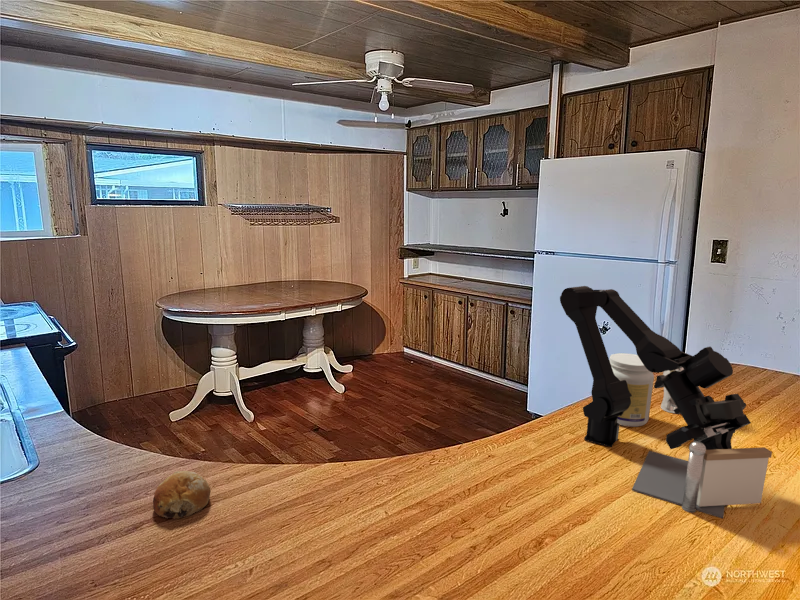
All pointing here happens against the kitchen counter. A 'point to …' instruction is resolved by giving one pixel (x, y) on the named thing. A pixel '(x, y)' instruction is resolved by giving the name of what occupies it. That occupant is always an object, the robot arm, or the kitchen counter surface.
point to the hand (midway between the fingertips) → (733, 471)
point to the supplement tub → (634, 387)
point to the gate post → (693, 476)
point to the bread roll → (181, 495)
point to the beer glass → (668, 396)
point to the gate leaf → (733, 476)
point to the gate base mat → (667, 481)
